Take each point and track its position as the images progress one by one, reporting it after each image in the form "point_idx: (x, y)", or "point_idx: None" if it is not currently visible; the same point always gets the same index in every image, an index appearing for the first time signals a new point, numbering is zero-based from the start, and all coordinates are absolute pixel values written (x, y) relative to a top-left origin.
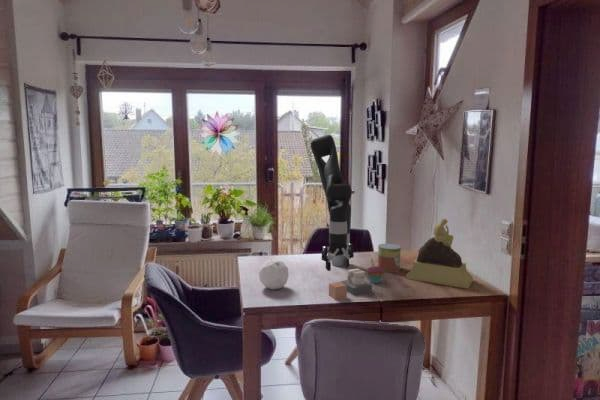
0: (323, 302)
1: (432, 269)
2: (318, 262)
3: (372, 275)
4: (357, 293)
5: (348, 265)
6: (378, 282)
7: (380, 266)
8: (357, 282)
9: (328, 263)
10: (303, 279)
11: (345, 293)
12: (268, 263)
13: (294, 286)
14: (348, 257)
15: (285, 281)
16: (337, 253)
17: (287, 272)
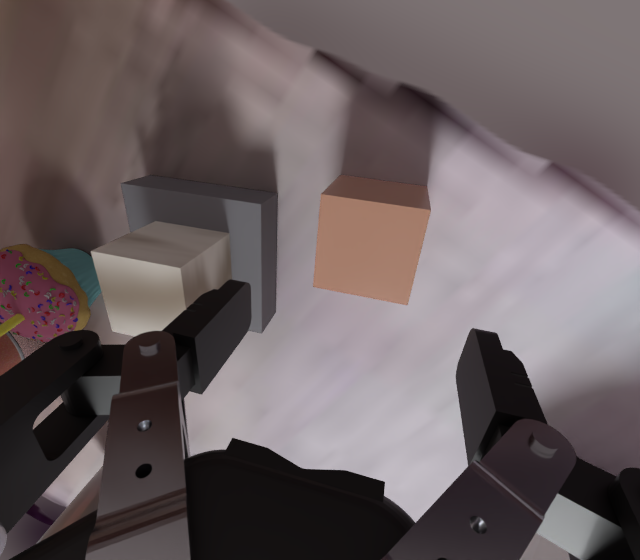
0: (529, 194)
1: None
2: None
3: (67, 275)
4: (244, 188)
5: (208, 297)
6: (72, 248)
7: (1, 361)
8: (197, 235)
9: (523, 415)
10: (363, 472)
11: (344, 182)
12: None
13: (462, 450)
14: (144, 355)
15: None
16: (333, 525)
17: (558, 554)
